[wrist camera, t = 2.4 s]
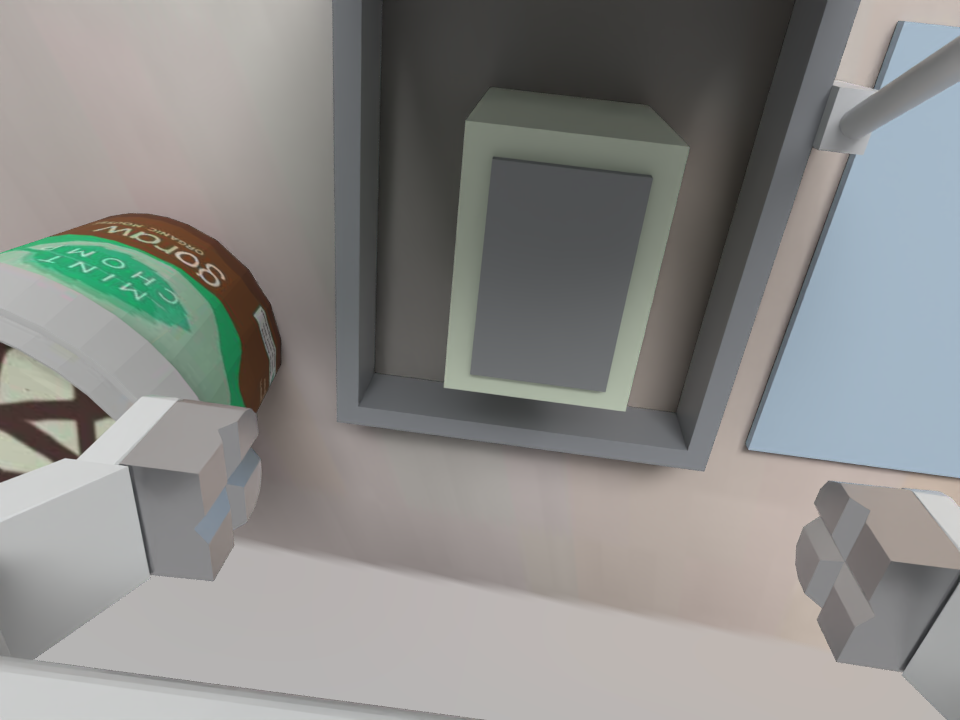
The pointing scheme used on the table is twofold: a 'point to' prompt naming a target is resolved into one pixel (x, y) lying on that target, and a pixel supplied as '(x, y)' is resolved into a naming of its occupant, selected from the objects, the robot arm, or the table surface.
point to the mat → (881, 298)
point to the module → (559, 245)
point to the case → (736, 289)
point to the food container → (122, 332)
